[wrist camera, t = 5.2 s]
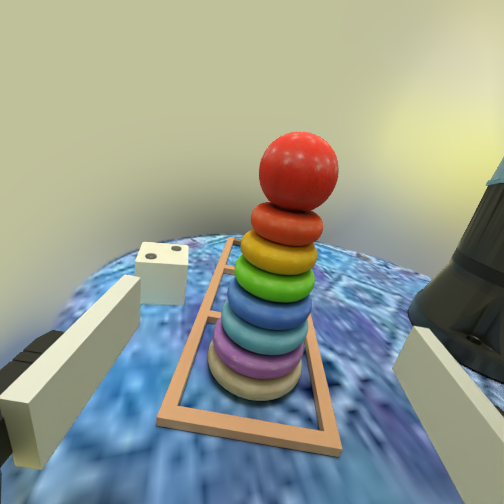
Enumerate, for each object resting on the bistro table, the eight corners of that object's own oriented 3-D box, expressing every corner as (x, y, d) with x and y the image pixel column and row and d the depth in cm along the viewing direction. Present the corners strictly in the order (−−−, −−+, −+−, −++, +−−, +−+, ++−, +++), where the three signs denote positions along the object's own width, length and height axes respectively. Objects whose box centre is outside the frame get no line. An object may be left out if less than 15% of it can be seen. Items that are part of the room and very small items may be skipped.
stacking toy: (316, 394, 22) (407, 150, 15) (221, 419, 19) (280, 121, 12) (273, 329, 29) (322, 137, 22) (197, 339, 26) (225, 117, 18)
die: (184, 282, 34) (188, 244, 32) (184, 306, 30) (188, 263, 28) (142, 280, 33) (143, 240, 31) (134, 304, 29) (135, 260, 27)
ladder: (294, 253, 49) (295, 249, 49) (339, 457, 18) (342, 449, 18) (227, 241, 49) (228, 237, 49) (156, 425, 18) (156, 417, 18)
